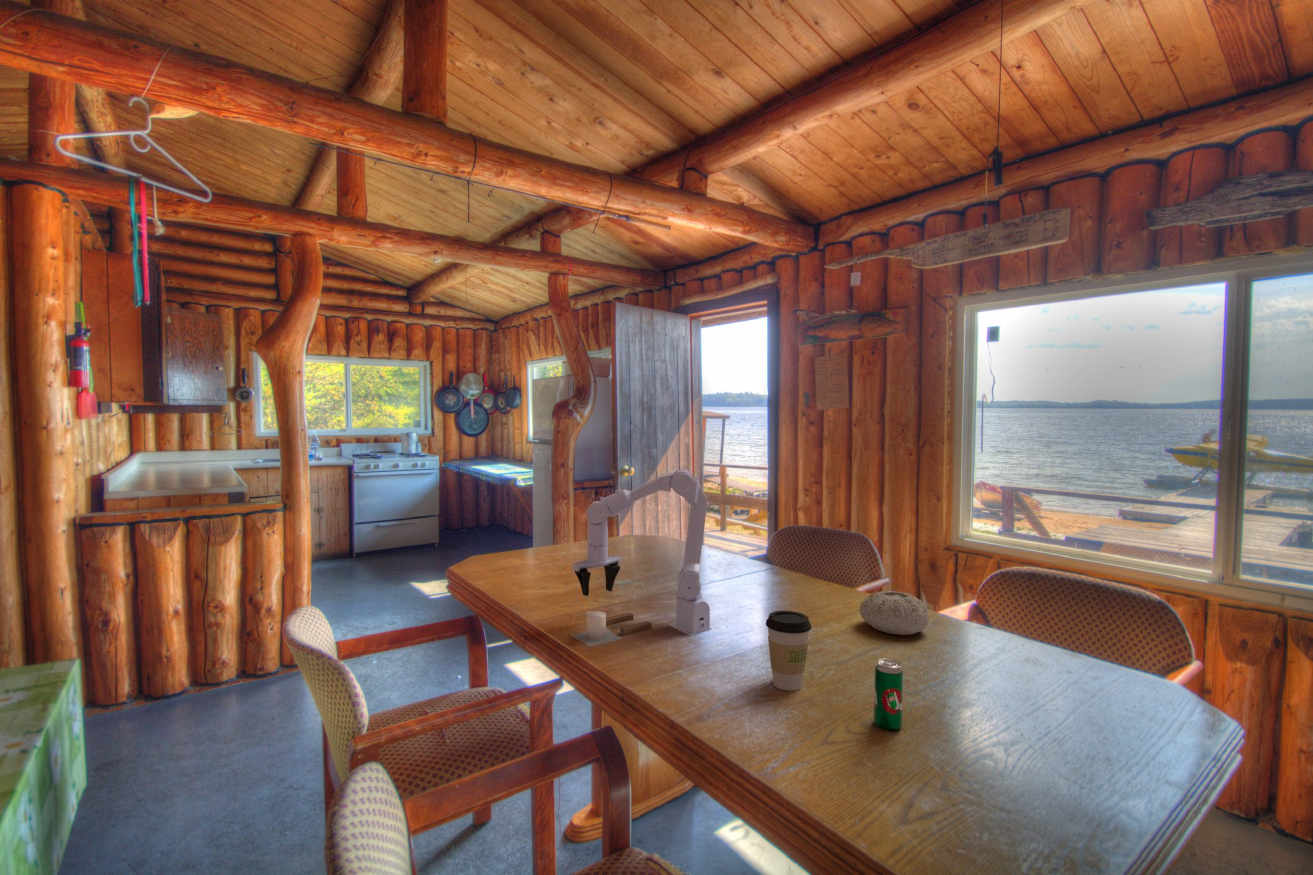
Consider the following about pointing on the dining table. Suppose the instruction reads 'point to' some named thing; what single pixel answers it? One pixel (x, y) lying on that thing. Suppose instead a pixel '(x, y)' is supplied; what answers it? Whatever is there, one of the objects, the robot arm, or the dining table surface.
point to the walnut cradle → (627, 624)
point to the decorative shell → (894, 612)
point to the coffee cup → (788, 648)
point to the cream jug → (596, 625)
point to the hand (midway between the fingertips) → (597, 592)
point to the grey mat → (590, 643)
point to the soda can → (888, 694)
